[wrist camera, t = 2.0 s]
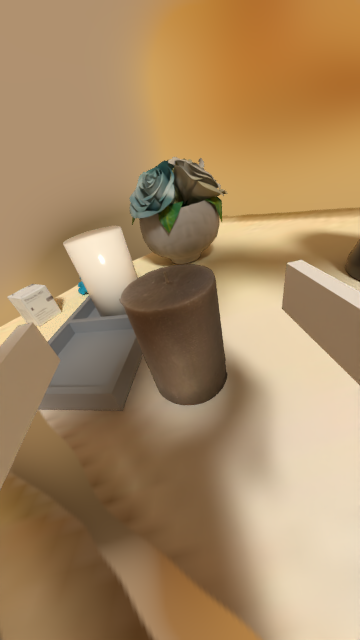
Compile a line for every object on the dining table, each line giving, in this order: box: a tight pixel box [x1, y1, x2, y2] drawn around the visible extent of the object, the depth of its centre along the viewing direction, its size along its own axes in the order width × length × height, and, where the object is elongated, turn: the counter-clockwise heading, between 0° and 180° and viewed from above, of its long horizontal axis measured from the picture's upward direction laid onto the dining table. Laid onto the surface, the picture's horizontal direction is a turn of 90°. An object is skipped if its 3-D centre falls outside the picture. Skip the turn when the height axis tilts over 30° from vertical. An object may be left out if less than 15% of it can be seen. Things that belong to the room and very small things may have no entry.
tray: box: [38, 296, 143, 410], centre depth 39 cm, size 16×31×4 cm, turn 172°
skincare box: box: [8, 284, 61, 326], centre depth 49 cm, size 6×6×7 cm
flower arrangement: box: [130, 157, 227, 264], centre depth 57 cm, size 25×25×24 cm
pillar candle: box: [119, 264, 227, 405], centre depth 25 cm, size 10×10×15 cm
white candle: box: [63, 226, 138, 317], centre depth 41 cm, size 10×10×15 cm
